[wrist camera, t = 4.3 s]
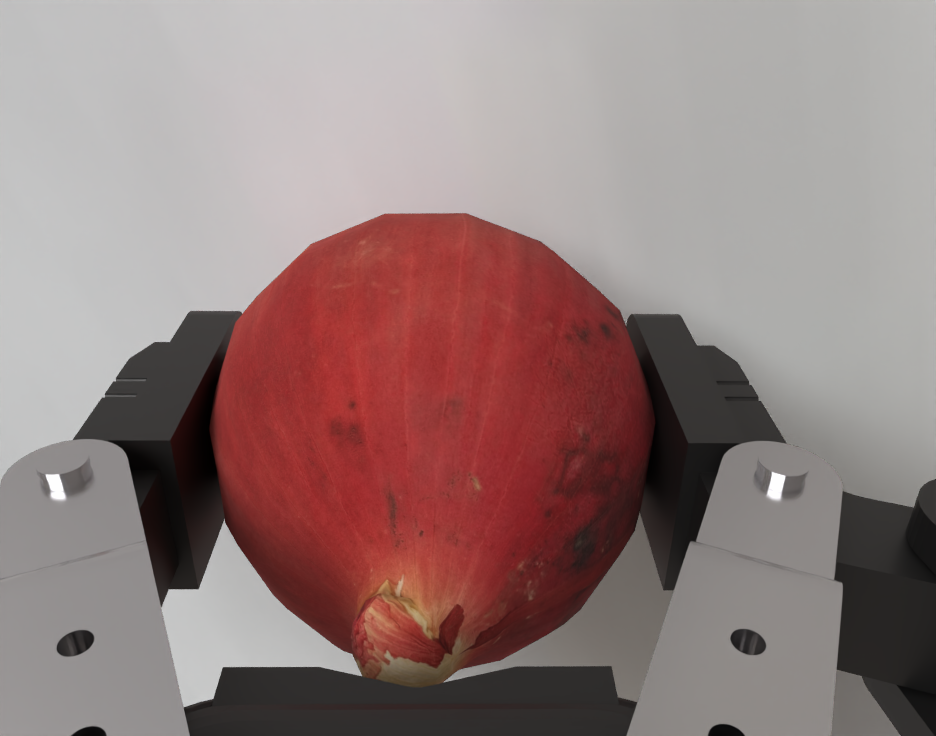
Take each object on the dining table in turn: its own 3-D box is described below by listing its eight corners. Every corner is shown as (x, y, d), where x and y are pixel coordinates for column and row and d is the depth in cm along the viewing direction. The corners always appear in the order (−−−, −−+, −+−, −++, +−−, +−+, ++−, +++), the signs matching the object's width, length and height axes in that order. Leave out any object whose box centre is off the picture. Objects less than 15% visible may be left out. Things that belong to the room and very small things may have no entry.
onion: (622, 150, 13) (802, 425, 6) (590, 449, 16) (693, 867, 9) (253, 145, 13) (33, 422, 6) (286, 448, 16) (158, 870, 9)
